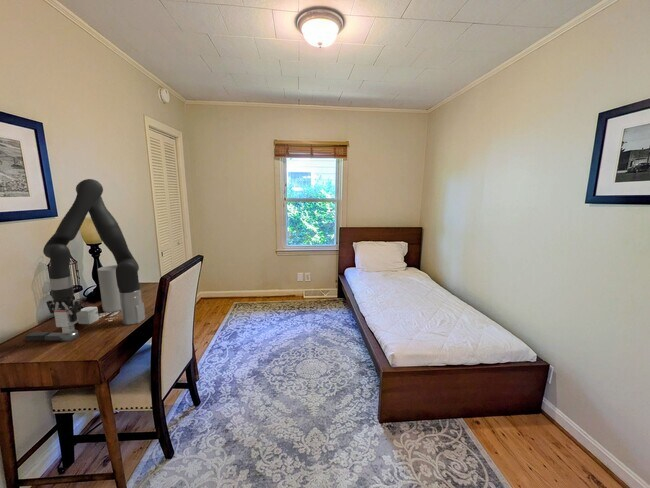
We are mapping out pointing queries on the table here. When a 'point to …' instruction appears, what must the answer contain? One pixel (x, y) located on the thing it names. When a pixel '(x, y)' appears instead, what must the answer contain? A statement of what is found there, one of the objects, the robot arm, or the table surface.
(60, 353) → the table surface
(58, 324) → the white rectangular block
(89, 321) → the skincare box
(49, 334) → the ratchet
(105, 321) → the table surface
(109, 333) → the table surface
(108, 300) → the cylinder vase
